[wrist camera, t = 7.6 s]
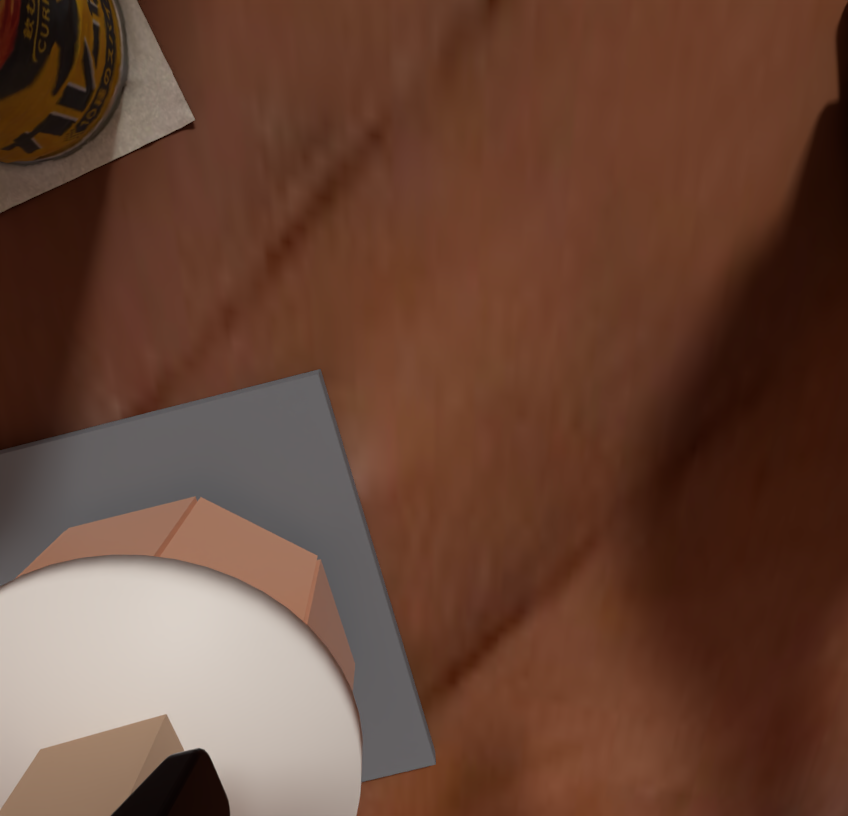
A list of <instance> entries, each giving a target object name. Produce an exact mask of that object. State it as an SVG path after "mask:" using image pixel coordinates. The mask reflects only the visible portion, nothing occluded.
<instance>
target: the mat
mask: <svg viewBox="0 0 848 816" xmlns="http://www.w3.org/2000/svg"><path fill="white" fill-rule="evenodd" d="M195 496H196V499H197V501H198V500H199V499H200V497H202V498H204V499H206V500H208V501H210V502H212V503H214V504H216V505H218V506H220V507H222V508H224V509H226V510H228V511H230V512H232V513H234V514H236V515H238V516H240V517H242V518H244V519H246V520H248V521H250V522H252V523H254V524H256V525H258V526H260V527H262V528H264V529H266V530H268V531H270V532H272V533H274V534H276V535H277V536H279V537H281V538H283V539H285V540H287V541H289V542H291V543H293V544H295V545H297V546H299V547H301V548H303V549H305V550H307V551H309V552H311V553H313V554H315V555H317V556H318V557H317V560H320V559H321V561H322V564H323V567H324V570H325V573H326V576H327V580H328V583H329V586H330V589H331V592H332V595H333V598H334V601H335V604H336V607H337V610H338V613H339V616H340V619H341V622H342V625H343V628H344V631H345V634H346V638H347V641H348V644H349V647H350V650H351V653H352V656H353V659H354V662H355V672H354V684H353V695H354V698H355V701H356V705H357V708H358V711H359V715H360V722H361V729H362V736H363V746H362V773H361V782H364V781H368V780H372V779H376V778H380V777H385V776H389V775H393V774H397V773H401V772H406V771H410V770H414V769H418V768H422V767H427V766H431V765H435V764H436V759H435V750H434V746H433V743H432V740H431V736H430V733H429V730H428V726H427V723H426V720H425V716H424V713H423V710H422V706H421V703H420V700H419V696H418V693H417V690H416V686H415V683H414V680H413V676H412V673H411V670H410V666H409V663H408V660H407V656H406V653H405V650H404V646H403V643H402V640H401V636H400V633H399V630H398V626H397V623H396V620H395V616H394V613H393V610H392V606H391V603H390V599H389V596H388V593H387V589H386V586H385V583H384V579H383V576H382V573H381V569H380V566H379V563H378V559H377V556H376V553H375V549H374V546H373V543H372V539H371V536H370V533H369V529H368V526H367V523H366V519H365V516H364V513H363V509H362V506H361V503H360V499H359V496H358V493H357V489H356V486H355V483H354V479H353V476H352V473H351V469H350V466H349V463H348V459H347V456H346V453H345V449H344V446H343V443H342V439H341V436H340V433H339V429H338V426H337V423H336V419H335V416H334V413H333V409H332V406H331V403H330V399H329V396H328V393H327V389H326V386H325V383H324V379H323V376H322V373H321V369H319V370H315V371H311V372H307V373H303V374H299V375H295V376H292V377H288V378H284V379H280V380H276V381H272V382H268V383H264V384H260V385H256V386H252V387H248V388H244V389H240V390H236V391H232V392H228V393H224V394H220V395H217V396H213V397H209V398H205V399H201V400H197V401H193V402H189V403H185V404H181V405H177V406H173V407H169V408H165V409H161V410H157V411H153V412H149V413H145V414H142V415H138V416H134V417H130V418H126V419H122V420H118V421H114V422H110V423H106V424H102V425H98V426H94V427H90V428H86V429H82V430H78V431H74V432H70V433H66V434H63V435H59V436H55V437H51V438H47V439H43V440H39V441H35V442H31V443H27V444H23V445H19V446H15V447H11V448H7V449H3V450H0V586H2V585H4V584H6V583H8V582H10V581H12V580H14V579H15V578H16V577H17V576H18V575H19V574H20V573H21V572H23V571H24V570H25V569H26V568H27V567H28V566H29V565H30V564H31V563H32V562H33V561H34V560H35V559H36V558H37V557H38V556H39V555H40V554H41V553H42V552H43V551H44V550H45V549H46V548H47V547H49V546H50V545H51V544H52V543H53V542H54V541H55V540H56V539H57V538H58V537H59V536H60V535H61V534H62V533H63V532H64V531H66V530H67V529H68V528H70V527H74V526H78V525H82V524H86V523H90V522H94V521H98V520H102V519H106V518H110V517H114V516H118V515H122V514H126V513H130V512H134V511H138V510H142V509H146V508H151V507H155V506H159V505H163V504H167V503H171V502H175V501H179V500H183V499H187V498H191V497H195Z"/></svg>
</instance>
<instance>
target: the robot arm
mask: <svg viewBox="0 0 848 816" xmlns="http://www.w3.org/2000/svg"><path fill="white" fill-rule="evenodd" d="M110 816H230V806H229V801H228V798H227V795H226V792H225V790H224V788H223V785H222V783H221V781H220V778H219V776H218V774H217V771H216V769H215V767H214V765H213V762H212V760H211V758H210V756H209V754H208V753H207V752H206V751H205V750H204V749H201V748H195V749H191V750H187V751H182V752H178V753H174V754H172V755H170V756H168V757H167V758H166V759H165V760H164V761H163V762H162V763H161V764H160V765H159V766H158V767H157V768H156V769H155V770H154V771H153V772H152V773H151V774H150V775H149V776H148V777H147V778H146V779H145V780H144V781H143V782H142V783H141V784H140V785H139V786H138V788H137V789H136V790H135V791H134V792H133V793H132V794H131V795H130V796H129V797H128V798H127V799H126V800H125V801H124V802H123V803H122V804H121V805H120V806H119V807H118V808H117V809H116V810H115V811H114V812H113V813H112V814H111V815H110Z"/></svg>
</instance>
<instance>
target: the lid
mask: <svg viewBox="0 0 848 816" xmlns="http://www.w3.org/2000/svg"><path fill="white" fill-rule="evenodd" d="M362 746H363V736H362V729H361V722H360V715H359V711H358V708H357V705H356V701H355V698H354V695H353V691H352V689H351V687H350V685H349V683H348V681H347V679H346V677H345V675H344V673H343V670H342V669H341V667H340V666H339V664H338V663H337V661H336V660H335V658H334V657H333V655H332V654H331V652H330V651H329V649H328V648H327V646H326V645H325V644H324V643H323V642H322V641H321V640H320V638H319V637H318V636H317V635H316V634H315V633H314V632H313V630H312V629H311V628H310V627H309V626H308V625H307V624H305V623H304V622H303V621H302V620H301V619H300V618H299V617H297V616H296V615H295V614H294V613H293V612H292V611H291V610H289V609H288V608H287V607H285V606H284V605H282V604H281V603H279V602H278V601H276V600H275V599H273V598H272V597H271V596H269V595H268V594H266V593H265V592H263V591H261V590H259V589H257V588H255V587H253V586H251V585H249V584H247V583H245V582H243V581H242V580H240V579H238V578H235V577H233V576H230V575H227V574H225V573H222V572H219V571H217V570H214V569H211V568H209V567H206V566H201V565H197V564H193V563H189V562H185V561H181V560H177V559H171V558H163V557H155V556H148V555H103V556H93V557H83V558H78V559H73V560H69V561H64V562H60V563H55V564H51V565H48V566H45V567H43V568H40V569H37V570H34V571H32V572H29V573H26V574H23V575H21V576H19V577H17V578H15V579H14V580H12V581H10V582H8V583H6V584H4V585H2V586H0V816H110V815H111V814H112V813H113V812H114V811H115V810H116V809H117V808H118V807H119V806H120V805H121V804H122V803H123V802H124V801H125V800H126V799H127V798H128V797H129V796H130V795H131V794H132V793H133V792H134V791H135V790H136V789H137V788H138V786H139V785H140V784H141V783H142V782H143V781H144V780H145V779H146V778H147V777H148V776H149V775H150V774H151V773H152V772H153V771H154V770H155V769H156V768H157V767H158V766H159V765H160V764H161V763H162V762H163V761H164V760H165V759H166V758H167V757H168V756H170V755H172V754H174V753H178V752H182V751H187V750H191V749H195V748H201V749H204V750H205V751H206V752H207V753H208V754H209V756H210V758H211V760H212V762H213V765H214V767H215V769H216V771H217V774H218V776H219V778H220V781H221V783H222V785H223V788H224V790H225V792H226V795H227V798H228V801H229V806H230V816H356V815H357V809H358V804H359V798H360V791H361V773H362Z"/></svg>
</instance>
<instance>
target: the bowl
mask: <svg viewBox="0 0 848 816" xmlns="http://www.w3.org/2000/svg"><path fill="white" fill-rule="evenodd" d="M103 555H148V556H155V557H163V558H171V559H177V560H181V561H185V562H189V563H193V564H197V565H201V566H206V567H209V568H211V569H214V570H217V571H219V572H222V573H225V574H227V575H230V576H233V577H235V578H238V579H240V580H242V581H243V582H245V583H247V584H249V585H251V586H253V587H255V588H257V589H259V590H261V591H263V592H265V593H266V594H268V595H269V596H271V597H272V598H273V599H275V600H276V601H278V602H279V603H281V604H282V605H284V606H285V607H287V608H288V609H289V610H291V611H292V612H293V613H294V614H295V615H296V616H297V617H299V618H300V619H301V620H302V621H303V622H304V623H305V624H307V625H308V626H309V627H310V628H311V629H312V630H313V632H314V633H315V634H316V635H317V636H318V637H319V638H320V640H321V641H322V642H323V643H324V644H325V645H326V646H327V648H328V649H329V651H330V652H331V654H332V655H333V657H334V658H335V660H336V661H337V663H338V664H339V666H340V667H341V669H342V670H343V673H344V675H345V677H346V679H347V681H348V683H349V685H350V687H351V689H352V691H353V684H354V672H355V662H354V659H353V656H352V653H351V650H350V647H349V644H348V641H347V638H346V634H345V631H344V628H343V625H342V622H341V619H340V616H339V613H338V610H337V607H336V604H335V601H334V598H333V595H332V592H331V589H330V586H329V583H328V580H327V576H326V573H325V570H324V567H323V564H322V561H321V559H320V560H317V557H318V556H317V555H315V554H313V553H311V552H309V551H307V550H305V549H303V548H301V547H299V546H297V545H295V544H293V543H291V542H289V541H287V540H285V539H283V538H281V537H279V536H277V535H276V534H274V533H272V532H270V531H268V530H266V529H264V528H262V527H260V526H258V525H256V524H254V523H252V522H250V521H248V520H246V519H244V518H242V517H240V516H238V515H236V514H234V513H232V512H230V511H228V510H226V509H224V508H222V507H220V506H218V505H216V504H214V503H212V502H210V501H208V500H206V499H204V498H202V497H200V499H199V500H198V501H197V499H196V496H195V497H191V498H187V499H183V500H179V501H175V502H171V503H167V504H163V505H159V506H155V507H151V508H146V509H142V510H138V511H134V512H130V513H126V514H122V515H118V516H114V517H110V518H106V519H102V520H98V521H94V522H90V523H86V524H82V525H78V526H74V527H70V528H68V529H67V530H66V531H64V532H63V533H62V534H61V535H60V536H59V537H58V538H57V539H56V540H55V541H54V542H53V543H52V544H51V545H50V546H49V547H47V548H46V549H45V550H44V551H43V552H42V553H41V554H40V555H39V556H38V557H37V558H36V559H35V560H34V561H33V562H32V563H31V564H30V565H29V566H28V567H27V568H26V569H25V570H24V571H23V572H21V573H20V574H19V575H18V576H17V577H19V576H21V575H23V574H26V573H29V572H32V571H34V570H37V569H40V568H43V567H45V566H48V565H51V564H55V563H60V562H64V561H69V560H73V559H78V558H83V557H93V556H103ZM17 577H16V578H17Z"/></svg>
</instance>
